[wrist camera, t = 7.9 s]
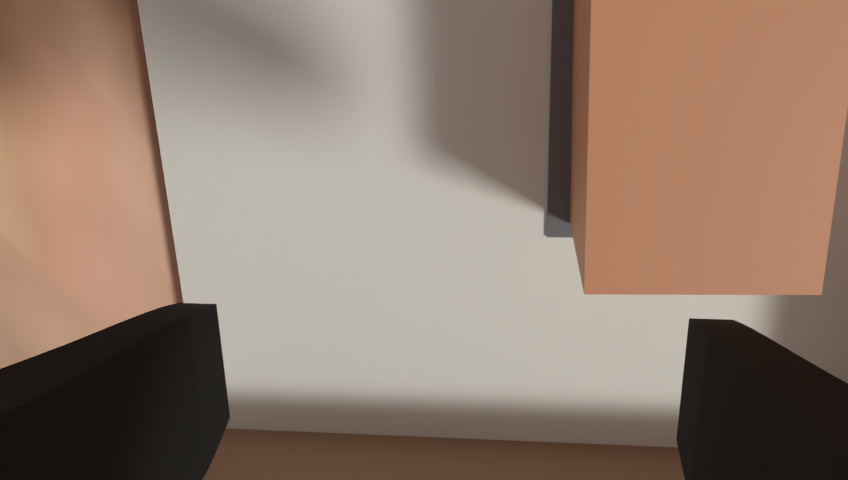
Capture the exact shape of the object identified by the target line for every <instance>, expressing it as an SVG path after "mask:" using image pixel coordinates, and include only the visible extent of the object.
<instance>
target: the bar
mask: <svg viewBox="0 0 848 480" xmlns="http://www.w3.org/2000/svg"><path fill="white" fill-rule="evenodd" d="M847 109H848V0H574V11H573V72H572V133H571V194H570V226H571V231H572V236H573V241H574V246H575V251H576V256H577V261H578V266H579V271H580V276H581V281H582V286H583V291H584V294H627V295H822V289H823V281H824V274H825V267H826V260H827V253H828V245H829V238H830V231H831V224H832V217H833V209H834V202H835V195H836V188H837V181H838V173H839V166H840V159H841V152H842V145H843V137H844V130H845V123H846V116H847Z"/></svg>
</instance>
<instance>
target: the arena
mask: <svg viewBox="0 0 848 480" xmlns="http://www.w3.org/2000/svg"><path fill="white" fill-rule="evenodd" d="M137 3H138V9H139V16H140V22H141V29H142V35H143V42H144V49H145V55H146V62H147V68H148V75H149V81H150V88H151V94H152V101H153V107H154V114H155V120H156V127H157V134H158V140H159V147H160V153H161V160H162V166H163V173H164V179H165V186H166V192H167V199H168V205H169V212H170V218H171V225H172V232H173V238H174V245H175V251H176V258H177V264H178V271H179V277H180V284H181V290H182V297H183V303H198V304H216V305H217V313H218V321H219V330H220V338H221V346H222V354H223V363H224V371H225V379H226V387H227V396H228V404H229V412H230V419H229V421H228V424H227V426H226V429H225V431H224V434H223V436H222V439H221V441H220V444H219V446H218V449H217V451H216V453H215V455H214V458H213V460H212V462H211V464H210V467H209V469H208V471H207V472H206V474H205V476H204V477H203V479H202V480H685V478H684V473H683V469H682V464H681V459H680V454H679V449H678V444H677V439H676V438H677V428H678V419H679V409H680V400H681V390H682V381H683V371H684V362H685V352H686V343H687V333H688V324H689V318H693V319H726V320H735V321H737V322H740V323H742V324H744V325H746V326H748V327H750V328H752V329H754V330H756V331H757V332H759V333H761V334H763V335H765V336H766V337H768V338H770V339H772V340H773V341H775V342H777V343H778V344H780V345H782V346H783V347H785V348H787V349H789V350H790V351H792V352H794V353H795V354H797V355H799V356H800V357H802V358H804V359H806V360H807V361H809V362H811V363H812V364H814V365H816V366H818V367H819V368H821V369H823V370H825V371H826V372H828V373H830V374H832V375H833V376H835V377H837V378H839V379H841V380H842V381H844V382H846V383H848V109H847V116H846V123H845V130H844V137H843V145H842V152H841V159H840V166H839V173H838V181H837V188H836V195H835V202H834V209H833V217H832V224H831V231H830V238H829V245H828V253H827V260H826V267H825V274H824V281H823V289H822V295H627V294H584V291H583V286H582V281H581V276H580V271H579V266H578V261H577V256H576V251H575V246H574V241H573V238H566V237H547V201H548V159H549V118H550V76H551V34H552V0H137Z"/></svg>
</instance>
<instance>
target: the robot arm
mask: <svg viewBox="0 0 848 480" xmlns="http://www.w3.org/2000/svg"><path fill="white" fill-rule="evenodd" d="M229 419H230V412H229V404H228V396H227V387H226V379H225V371H224V363H223V354H222V346H221V338H220V330H219V321H218V313H217V305H216V304H198V303H177V304H172V305H168V306H165V307H161V308H158V309H155V310H152V311H149V312H147V313H144V314H141V315H139V316H136V317H133V318H131V319H128V320H126V321H123V322H121V323H118V324H116V325H113V326H111V327H108V328H106V329H103V330H101V331H98V332H96V333H93V334H91V335H89V336H86V337H84V338H81V339H79V340H76V341H74V342H71V343H69V344H66V345H64V346H61V347H58V348H56V349H53V350H50V351H48V352H45V353H42V354H40V355H37V356H34V357H32V358H29V359H26V360H23V361H21V362H18V363H15V364H13V365H10V366H7V367H5V368H2V369H0V480H202V479H203V477H204V476H205V474H206V472H207V471H208V469H209V467H210V464H211V462H212V460H213V458H214V455H215V453H216V451H217V449H218V446H219V444H220V441H221V439H222V436H223V434H224V431H225V429H226V426H227V424H228V421H229ZM676 439H677V444H678V449H679V454H680V459H681V464H682V469H683V473H684V478H685V480H848V383H846V382H844V381H842V380H841V379H839V378H837V377H835V376H833V375H832V374H830V373H828V372H826V371H825V370H823V369H821V368H819V367H818V366H816V365H814V364H812V363H811V362H809V361H807V360H806V359H804V358H802V357H800V356H799V355H797V354H795V353H794V352H792V351H790V350H789V349H787V348H785V347H783V346H782V345H780V344H778V343H777V342H775V341H773V340H772V339H770V338H768V337H766V336H765V335H763V334H761V333H759V332H757V331H756V330H754V329H752V328H750V327H748V326H746V325H744V324H742V323H740V322H737V321H735V320H726V319H693V318H689V324H688V333H687V343H686V352H685V362H684V371H683V381H682V390H681V400H680V409H679V419H678V428H677V438H676Z"/></svg>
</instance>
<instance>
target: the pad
mask: <svg viewBox="0 0 848 480" xmlns="http://www.w3.org/2000/svg"><path fill="white" fill-rule="evenodd" d="M573 11H574V0H552V34H551V76H550V118H549V159H548V201H547V237H566V238H573V236H572V231H571V226H570V194H571V133H572V72H573Z"/></svg>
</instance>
